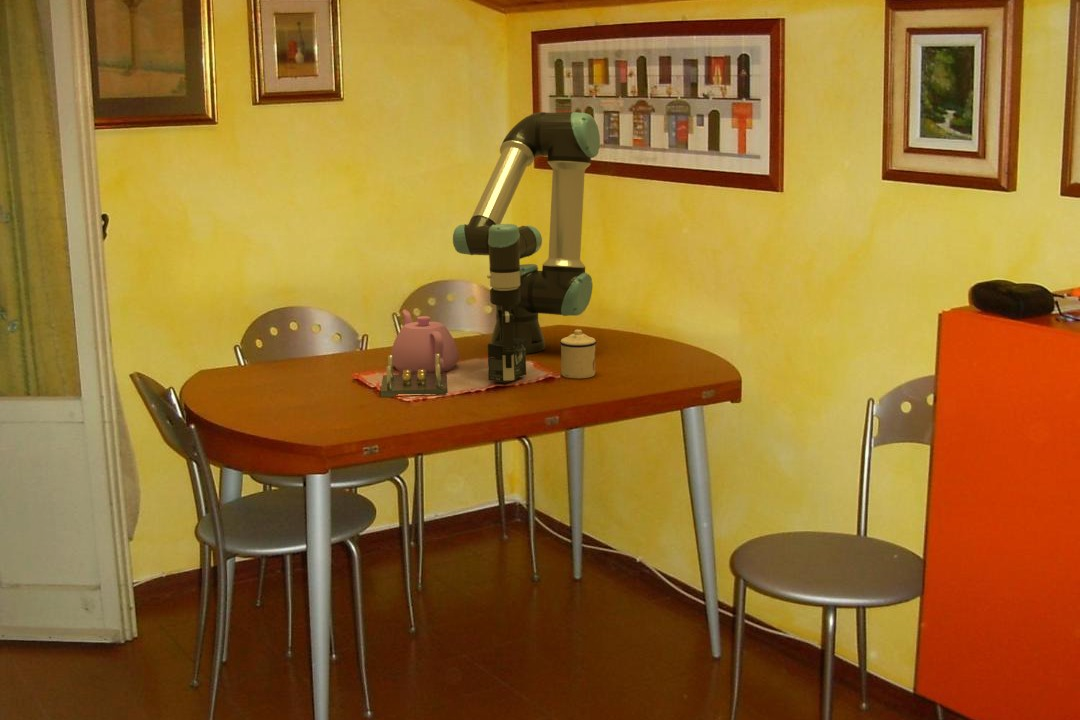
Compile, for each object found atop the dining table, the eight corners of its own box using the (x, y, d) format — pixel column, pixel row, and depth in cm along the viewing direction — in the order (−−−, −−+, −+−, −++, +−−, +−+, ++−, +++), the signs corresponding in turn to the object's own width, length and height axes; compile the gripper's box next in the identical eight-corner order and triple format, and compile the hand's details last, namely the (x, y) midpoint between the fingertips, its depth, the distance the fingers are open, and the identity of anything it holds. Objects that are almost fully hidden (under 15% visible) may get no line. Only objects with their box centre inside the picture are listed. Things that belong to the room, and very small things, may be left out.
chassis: (383, 380, 334) (382, 353, 332) (446, 378, 335) (446, 351, 334) (380, 397, 318) (379, 368, 317) (447, 394, 320) (446, 366, 318)
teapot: (474, 372, 342) (473, 320, 338) (411, 381, 333) (408, 328, 330) (434, 354, 363) (433, 304, 360) (374, 361, 355) (372, 311, 352)
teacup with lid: (601, 377, 335) (601, 332, 332) (568, 380, 332) (567, 335, 329) (583, 367, 346) (583, 323, 343) (551, 370, 342) (550, 326, 340)
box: (506, 383, 327) (505, 346, 325) (487, 380, 330) (486, 343, 328) (527, 375, 335) (526, 338, 333) (508, 372, 338) (507, 336, 335)
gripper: (488, 279, 338) (490, 364, 343) (492, 297, 316) (494, 386, 321) (517, 278, 338) (519, 362, 344) (523, 295, 316) (525, 385, 322)
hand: (507, 374), depth 332 cm, fingers closed on box, 10 cm apart
